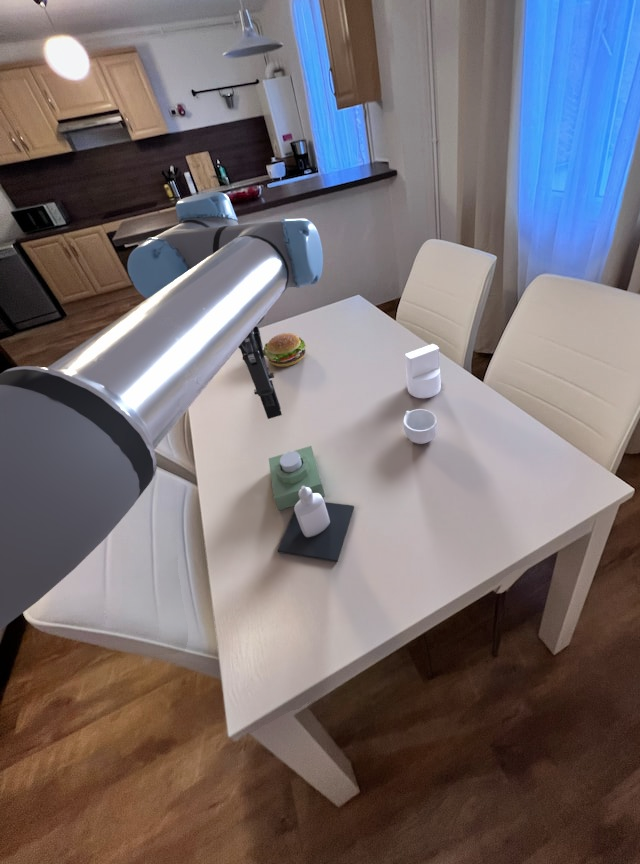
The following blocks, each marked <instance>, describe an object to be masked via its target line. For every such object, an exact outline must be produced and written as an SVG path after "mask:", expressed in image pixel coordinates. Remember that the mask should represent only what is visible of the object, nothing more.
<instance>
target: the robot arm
mask: <svg viewBox="0 0 640 864" xmlns="http://www.w3.org/2000/svg"><path fill="white" fill-rule="evenodd" d="M175 212H176V216H177V221H178V224H176V225H175V226H172V227H171V228H168V229H167V230H165V231H163V232H161V233H158V234H157V235H155V236H153V237H148V238H147V239H146V240H144V242H143V243H141V244H140V245H138V246H137V247H136V248H134V249H133V250H132V251H131V252H130V254H129V256H128V259H127V265H126V266H127V273H128V276H129V277H130V281H131V282H132V283H133V286H134V287H135V290H137V291H138V292H139V294H140V295H141V296H143V297H144V298H145V299H144V301H142V302H140V303H139V304H138V305H136V306H135V307H133V308H132V309H130V310H129V311H127V312H126V313H124V314H123V315H121V316H120V317H119V318H117V319H115V320H114V321H113V322H112V323H110V324H108V325H107V326H106V327H104V328H103V329H101V330H100V331H97V333H95V334H94V335H92V336H91V337H90V338H88V339H87V340H85V341H84V342H82V343H81V344H79V345H78V346H77V347H75V348H73V349H72V350H71V351H69V352H67V353H66V354H65V355H63V356H62V357H61V358H59V359H58V360H56V361H54V362H53V363H52V364H50V365H49V366H48V367H41V366H34V365H32V366H30V365H23V366H16V367H15V366H14V367H11V368H7V369H6V370H4V371H2V372H1V373H0V631H1V630H2V629H4V628H5V627H7V626H8V625H9V624H10V623H11V622H13V621H14V620H15V619H17V618H18V617H19V616H21V615H22V614H24V613H25V612H26V611H27V610H28V609H30V608H31V607H32V606H33V605H35V604H36V603H37V602H39V601H40V600H41V599H42V598H44V596H46V595H47V594H48V593H49V592H50V591H51V590H52V589H54V588H55V586H57V585H58V584H59V583H60V582H61V581H63V580H64V579H65V578H66V577H67V576H68V575H69V574H71V573H72V572H73V571H74V570H75V569H76V568H77V567H78V566H79V565H80V564H81V563H83V561H84V560H85V559H86V558H87V557H88V556H90V554H92V552H93V551H94V550H95V549H96V548H97V547H98V546H99V545H100V544H101V543H103V541H104V540H105V539H106V538H107V537H108V536H109V535H110V534H111V533H112V532H113V530H114V529H115V528H116V527H117V525H118V524H119V523H120V522H121V521H122V520H123V518H124V517H126V515H127V514H128V512H130V510H131V509H132V507H134V506H135V504H136V502H137V501H138V500H139V498H140V497H141V496H142V494H143V493H144V492H145V490H146V489H147V488H148V486H149V485H150V484H151V483H152V481H153V480H154V479H155V476H156V474H157V468H158V466H157V465H158V463H157V462H158V460H157V456H156V452H155V450H156V449H157V448H158V446H159V445H160V444H161V443H162V441H163V440H164V439H165V438H166V437H167V435H168V434H169V433H170V431H172V430H173V428H174V427H175V425H176V424H177V423H178V422H179V420H180V419H181V418H182V417H183V415H185V413H186V412H187V411H188V409H190V407H191V406H192V405H193V403H194V402H195V401H196V400H197V398H198V397H199V396H200V395H201V394H202V393H203V391H204V390H205V389H206V387H208V385H209V384H210V383H211V382H212V381H213V379H214V377H216V375H217V374H218V373H219V371H220V370H221V369H222V368H223V367H224V365H225V364H226V363H227V362H228V360H229V359H230V358H231V357H232V355H233V354H234V353H235V352H236V351H237V350H238V349H239V350H240V352H241V355H242V360H243V361H244V363H245V365H246V367H247V370H248V373H249V375H250V377H251V380H252V383H253V386H254V387H255V389H253V393H254V395H257V396H258V397H259V398H260V401H261V404H262V406H263V409H264V412H265V415H266V419H267V420H270V419H274V418H276V417H281V416H283V414H282V410H281V405H280V401H279V399H278V398H279V397H278V395H277V392H276V390H275V386H274V383H273V380H272V379H274V378H275V375H274V372H271V373H270V372H269V371H270V370H269V369H270V368H269V366H268V364H267V361H266V356H264V351H263V350H264V347H263V341H262V337H261V331H260V328H259V324H261V323H262V322H263V321H264V319H265V317H266V314H267V313H268V312H269V310H270V309H271V308H272V306H273V305H274V304H275V303H276V302H277V300H278V299H280V297H281V295H282V294H284V292H285V291H286V290H287V289H288V288H297V289H298V288H299V289H300V288H301V287H308V286H313V285H315V284H317V283H319V281H320V279H321V277H322V274H323V267H324V253H323V246H322V241H321V237H320V234H319V231H318V229H317V227H316V225H315V224H314V223H313V222H312V221H310V220H308V219H307V218H285V217H282V218H280V219H278V220H268V221H260V222H258V221H257V222H249V223H242V224H239V220H238V218H237V215H236V213H235V210H234V208H233V204H232V203H231V200H230V198H229V196H228V195H227V194H226V193H223V192H220V191H212V192H204V193H198V194H194V195H191V196H187V197H183V198H182V199H179V200H178V201H177V202H176V204H175Z"/></svg>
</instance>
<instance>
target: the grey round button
mask: <svg viewBox="0 0 640 864" xmlns="http://www.w3.org/2000/svg"><path fill="white" fill-rule="evenodd" d="M294 451H295V450H293V451H292V450H291V451H287V452H285V453H283V454H284V455H282V454H281V455H282V457H281V458H280V464H281V467H282V470H283V471H284V472H286V473H293V472H296V471H297V470H299V469H300V468H301V466H302V461H301V457H300V455H299V453H297V452H294Z"/></svg>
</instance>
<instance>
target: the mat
mask: <svg viewBox="0 0 640 864" xmlns="http://www.w3.org/2000/svg"><path fill="white" fill-rule="evenodd" d="M324 502H325V506H326V509H327V512H328V516H329V519H330V524H329V525H328V527H327V528H326V529H325V530H324V531H322V532H321V533H319V534H317V535H315V536H312V537H306V536H305V535H304V534H303V532H302V530H301V527H300V525H299V522H298V519H297V517H296V514H295V511H294V510H293V513H292V515H291V517H290V519H289V522H288V523H287V527H286V529H285V531H284V533H283V536H282V538H281V540H280V543H279V545H278V547H277V549H276V552H277V553H280V554H287V555H293V556H297V557H304V558H309V559H310V558H311V559H316V560H323V561H329V562H334V563H338V562H339V558H340V555H341V552H342V548H343V545H344V541H345V539H346V535H347V532H348V528H349V525H350V522H351V519H352V515H353V512H354V508H355V505H350V504H344V503H343V504H341V503H334V502H328V501H327V502H326V501H324Z"/></svg>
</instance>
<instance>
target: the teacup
mask: <svg viewBox="0 0 640 864" xmlns="http://www.w3.org/2000/svg"><path fill="white" fill-rule="evenodd" d="M402 423H403V430H404V434H405V436H406V437H407V439H408V440H409V441H411V442H412V443H415V444H417V445H422V444H424V445H425V444H427V443H429V442H431V441H432V440H433V439H434V438H435V436H436V433H437V428H438V419H437V416H436V415H435V414H434V413H433V412H432V411H430V410H428V409H423V408H417V409H413V410H406V411H405V415H404V417H403V422H402Z"/></svg>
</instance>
